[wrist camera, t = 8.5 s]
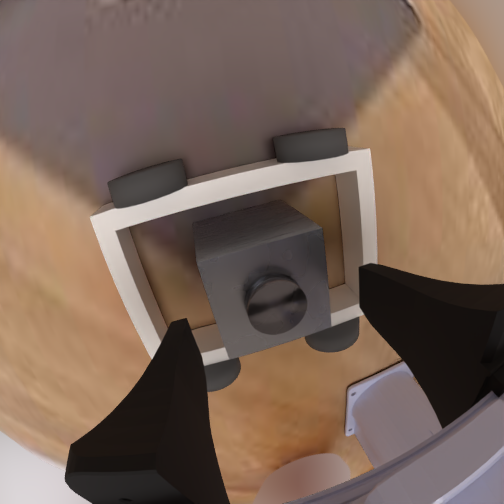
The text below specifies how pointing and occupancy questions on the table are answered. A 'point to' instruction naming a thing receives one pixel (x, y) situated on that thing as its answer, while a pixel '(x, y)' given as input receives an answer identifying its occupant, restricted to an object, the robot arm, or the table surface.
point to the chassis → (227, 186)
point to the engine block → (263, 276)
